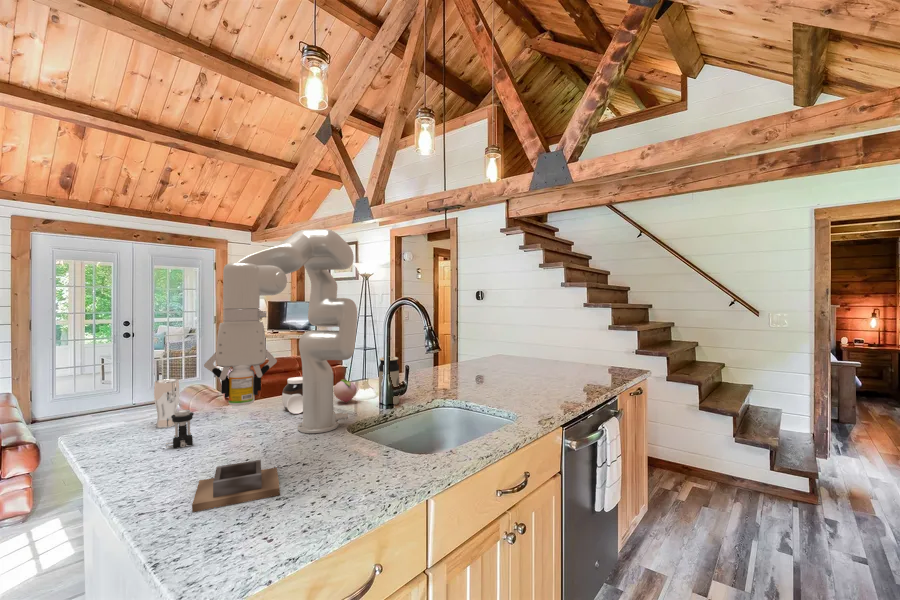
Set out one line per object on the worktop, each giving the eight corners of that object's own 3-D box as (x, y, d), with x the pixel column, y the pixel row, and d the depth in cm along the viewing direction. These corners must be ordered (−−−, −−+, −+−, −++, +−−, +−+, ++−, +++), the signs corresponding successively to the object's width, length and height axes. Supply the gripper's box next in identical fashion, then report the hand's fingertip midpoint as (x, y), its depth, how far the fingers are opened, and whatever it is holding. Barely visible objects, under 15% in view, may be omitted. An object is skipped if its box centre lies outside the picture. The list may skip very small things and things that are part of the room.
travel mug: (375, 404, 163) (375, 359, 163) (385, 399, 170) (385, 356, 170) (393, 406, 160) (392, 360, 160) (402, 401, 167) (402, 357, 167)
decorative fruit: (329, 402, 166) (329, 377, 166) (348, 399, 172) (347, 375, 171) (341, 407, 159) (340, 381, 159) (359, 403, 165) (359, 378, 165)
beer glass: (184, 423, 139) (184, 379, 139) (164, 429, 133) (164, 383, 133) (169, 421, 142) (169, 377, 141) (149, 427, 135) (148, 381, 135)
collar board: (276, 473, 99) (276, 454, 99) (279, 495, 88) (279, 474, 88) (199, 487, 92) (199, 467, 92) (192, 512, 81) (192, 489, 81)
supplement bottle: (234, 400, 97) (235, 359, 98) (258, 400, 98) (258, 359, 98) (224, 406, 92) (224, 362, 92) (248, 406, 92) (249, 362, 93)
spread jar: (302, 404, 163) (302, 375, 163) (320, 409, 156) (320, 378, 156) (274, 411, 153) (274, 380, 153) (292, 416, 147) (292, 384, 147)
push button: (165, 451, 114) (165, 415, 113) (165, 446, 118) (165, 411, 118) (194, 446, 117) (193, 411, 117) (193, 441, 122) (193, 407, 122)
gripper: (281, 315, 102) (281, 389, 102) (200, 316, 95) (200, 395, 95) (282, 316, 95) (282, 395, 95) (196, 317, 88) (196, 402, 88)
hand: (241, 394), depth 95 cm, fingers closed on supplement bottle, 5 cm apart
